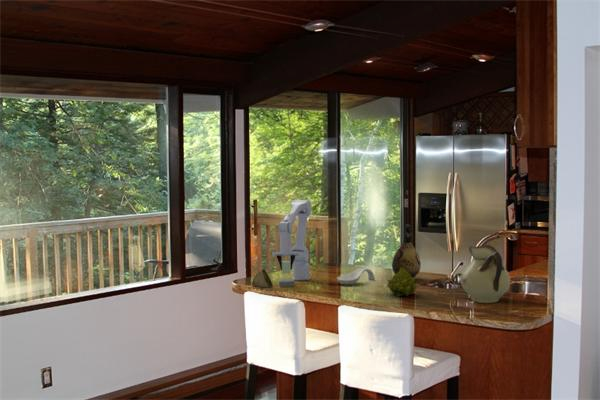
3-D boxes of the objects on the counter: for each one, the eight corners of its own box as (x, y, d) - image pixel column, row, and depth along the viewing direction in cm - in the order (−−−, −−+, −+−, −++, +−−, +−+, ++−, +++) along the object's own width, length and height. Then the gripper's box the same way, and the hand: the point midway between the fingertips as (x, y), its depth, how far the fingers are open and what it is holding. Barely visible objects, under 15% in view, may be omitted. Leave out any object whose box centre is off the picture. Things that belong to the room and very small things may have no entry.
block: (290, 272, 388) (290, 260, 388) (290, 273, 384) (290, 262, 383) (281, 272, 388) (281, 261, 387) (282, 273, 383) (281, 262, 383)
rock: (246, 282, 385) (255, 282, 376) (253, 268, 388) (263, 267, 380) (261, 292, 389) (271, 292, 381) (267, 278, 392) (278, 278, 384)
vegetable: (394, 292, 342) (393, 263, 350) (383, 303, 355) (383, 275, 363) (424, 296, 345) (422, 267, 352) (412, 307, 358) (411, 279, 366)
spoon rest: (348, 287, 378) (347, 273, 377) (332, 284, 387) (332, 271, 386) (379, 281, 393) (379, 268, 392) (364, 278, 402) (363, 266, 401)
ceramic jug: (422, 281, 388) (422, 226, 386) (393, 282, 389) (393, 226, 387) (418, 276, 405) (417, 223, 403) (390, 276, 406) (390, 223, 404)
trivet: (293, 284, 390) (293, 278, 390) (294, 287, 382) (294, 281, 382) (278, 284, 390) (278, 279, 390) (279, 287, 382) (279, 281, 382)
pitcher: (473, 293, 354) (473, 242, 352) (520, 299, 339) (520, 246, 337) (452, 301, 337) (452, 248, 335) (500, 308, 322) (500, 252, 320)
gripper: (272, 245, 380) (272, 271, 381) (299, 244, 381) (300, 270, 382) (271, 243, 387) (272, 268, 388) (298, 243, 388) (299, 268, 389)
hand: (286, 269), depth 385 cm, fingers closed on block, 4 cm apart
